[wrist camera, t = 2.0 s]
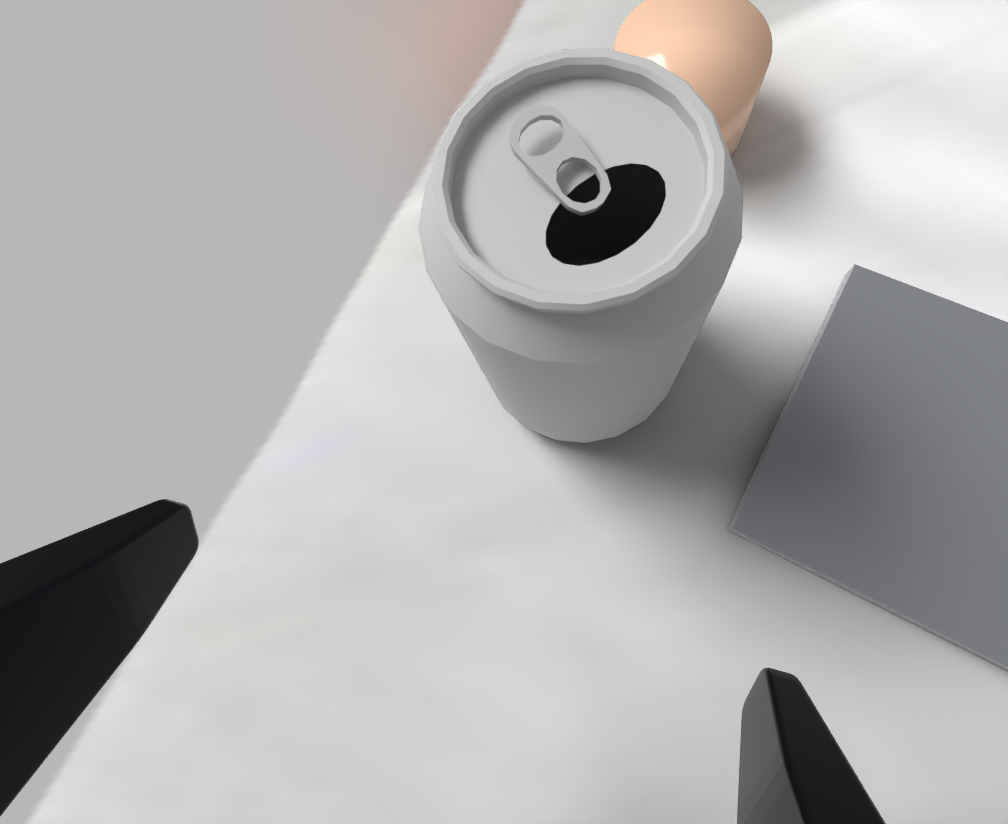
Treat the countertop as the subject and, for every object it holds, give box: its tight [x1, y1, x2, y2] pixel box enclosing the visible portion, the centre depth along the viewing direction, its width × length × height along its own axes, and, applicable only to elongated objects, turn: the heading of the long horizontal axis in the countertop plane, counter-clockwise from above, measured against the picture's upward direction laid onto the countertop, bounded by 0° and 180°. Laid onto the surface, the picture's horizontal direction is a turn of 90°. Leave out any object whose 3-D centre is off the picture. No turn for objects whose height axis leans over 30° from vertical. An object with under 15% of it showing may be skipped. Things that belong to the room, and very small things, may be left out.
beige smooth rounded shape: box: [614, 0, 772, 156], centre depth 24 cm, size 6×6×4 cm
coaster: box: [727, 265, 1008, 671], centre depth 21 cm, size 11×11×1 cm
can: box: [419, 49, 743, 443], centre depth 18 cm, size 8×8×12 cm
